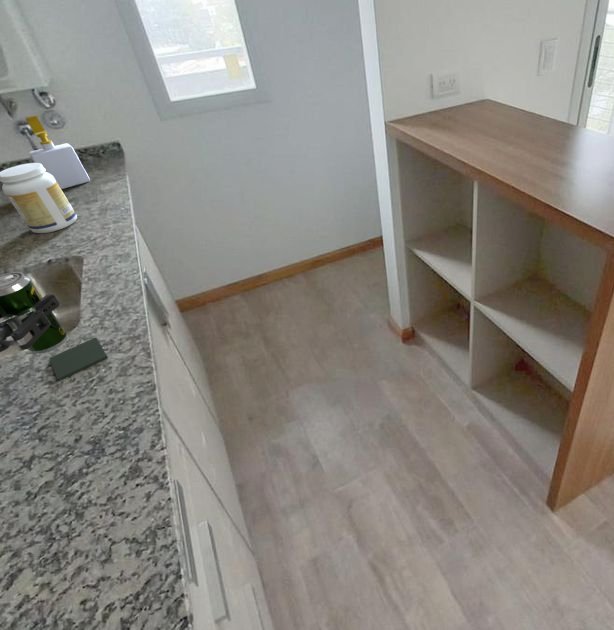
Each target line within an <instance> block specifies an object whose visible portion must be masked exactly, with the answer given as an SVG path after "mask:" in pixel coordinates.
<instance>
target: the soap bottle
mask: <svg viewBox="0 0 614 630" xmlns="http://www.w3.org/2000/svg"><path fill="white" fill-rule="evenodd" d="M25 120H26V122H27V124H28V125H29V127H30V129H31V131H32V133H33V134H34V135H35V136H36V137H37V138H39V139H40V140H41V141H40V142H39V145H40V146H41V148H40V149H36V150H32V151H29V152H28V155H29V157H30V158H31V160H32V163H40V164H42V166H43V167H44V168H45V169H46V171H45V172H47V173H49V174H51V175H52V176H53V177H54V178H55V180H56V182H57V183H58V185H59V187H60V188H61V190H64V189H68V188H71V187H74V186H78V185H82V184H85V183H89V182H91V179H90V177H89V174H88V173H87V171H86V169H85V167H84V166H83V164H82V162H81V160H80V158H79V156H78V154H77V153H76V151H75V149H74V148H73V146H72V145H70V144H69V143H67V142H66V143H62V144H57V145H55V144H54V142H53V140H52V139H48V137H47V136H48V134H47V133H48V132H47V131H46V129H45V128H44V127H43V125H42V123H41V121H40V119H39V117H38V115H36V114H35V115H31V116H26V117H25Z"/></svg>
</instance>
